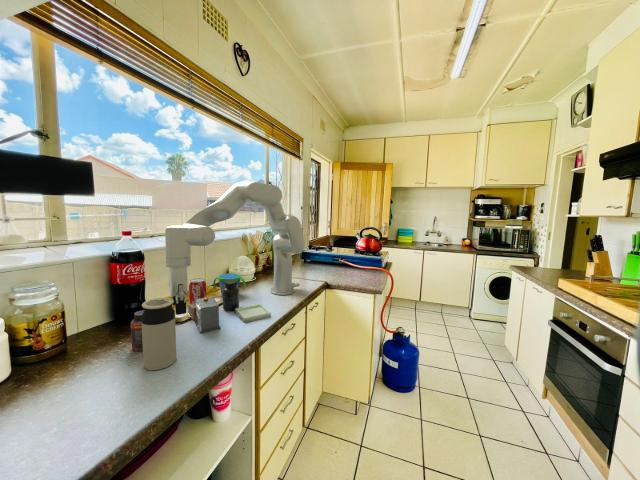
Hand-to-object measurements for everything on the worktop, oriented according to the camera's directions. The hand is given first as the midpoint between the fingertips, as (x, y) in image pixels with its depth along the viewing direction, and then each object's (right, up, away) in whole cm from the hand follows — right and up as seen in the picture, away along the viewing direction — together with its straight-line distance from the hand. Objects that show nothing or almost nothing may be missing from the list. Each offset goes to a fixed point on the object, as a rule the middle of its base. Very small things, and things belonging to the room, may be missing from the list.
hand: (179, 308), depth 91 cm
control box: (+7, -8, +6) cm, 12 cm away
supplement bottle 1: (-6, -10, -10) cm, 15 cm away
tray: (+21, -7, +17) cm, 28 cm away
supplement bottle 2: (+10, -6, +23) cm, 26 cm away
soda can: (-5, -5, +24) cm, 24 cm away
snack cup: (+4, -4, +39) cm, 39 cm away
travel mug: (+4, -11, -17) cm, 21 cm away
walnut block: (0, -7, +13) cm, 15 cm away
